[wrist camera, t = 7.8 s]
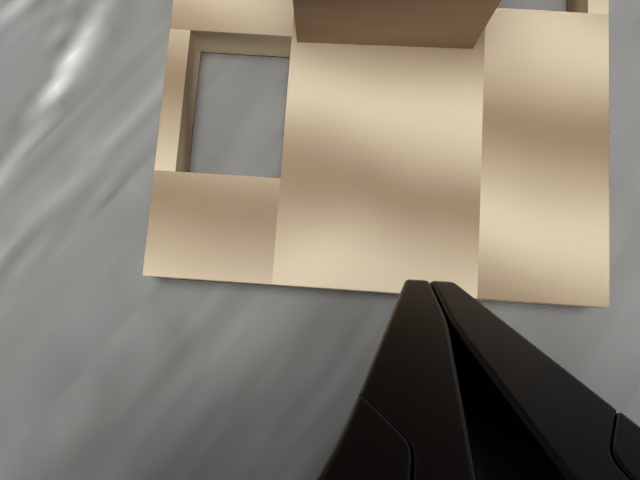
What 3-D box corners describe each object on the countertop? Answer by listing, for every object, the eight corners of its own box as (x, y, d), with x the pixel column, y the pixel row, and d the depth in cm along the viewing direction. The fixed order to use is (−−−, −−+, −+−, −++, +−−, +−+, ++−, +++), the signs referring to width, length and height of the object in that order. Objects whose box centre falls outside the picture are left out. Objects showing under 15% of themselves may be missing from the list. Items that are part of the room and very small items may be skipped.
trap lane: (585, 306, 17) (704, 308, 12) (157, 277, 18) (83, 266, 12) (586, -155, 20) (686, -330, 14) (206, -175, 20) (162, -355, 14)
